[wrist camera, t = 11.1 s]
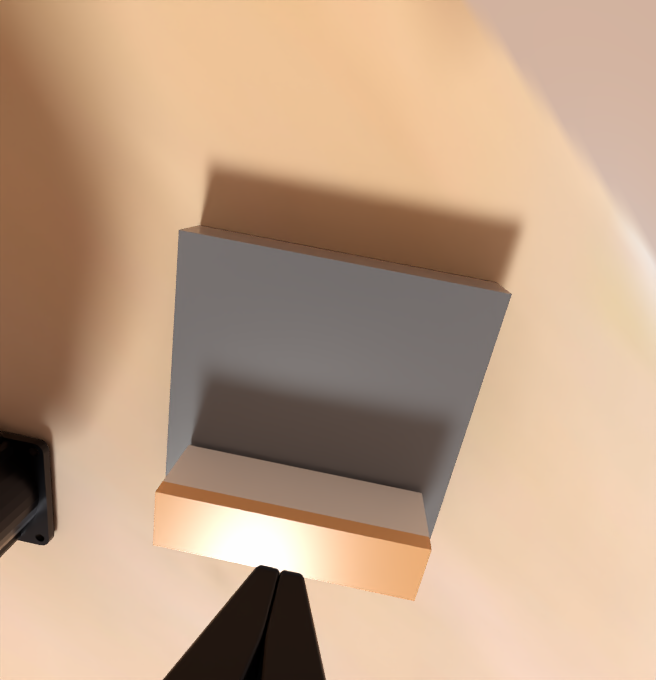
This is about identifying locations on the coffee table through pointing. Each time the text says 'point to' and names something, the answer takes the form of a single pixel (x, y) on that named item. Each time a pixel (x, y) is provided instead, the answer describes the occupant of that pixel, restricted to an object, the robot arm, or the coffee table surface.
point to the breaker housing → (327, 360)
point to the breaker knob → (294, 521)
